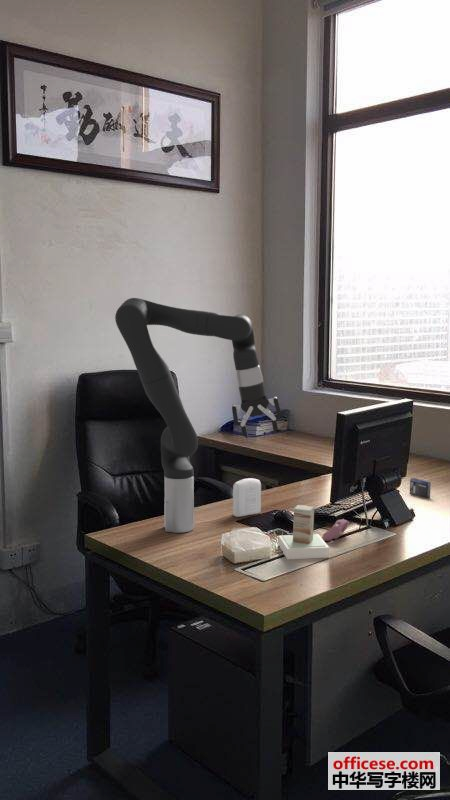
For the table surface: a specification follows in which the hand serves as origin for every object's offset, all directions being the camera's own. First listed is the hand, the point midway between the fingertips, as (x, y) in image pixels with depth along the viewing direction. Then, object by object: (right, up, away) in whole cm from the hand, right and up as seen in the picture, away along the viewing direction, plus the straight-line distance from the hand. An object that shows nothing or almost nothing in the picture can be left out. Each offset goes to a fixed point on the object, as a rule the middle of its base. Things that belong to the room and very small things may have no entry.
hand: (261, 434), depth 216 cm
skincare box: (+12, -31, -7) cm, 33 cm away
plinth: (+12, -33, -6) cm, 36 cm away
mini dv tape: (+62, -26, +55) cm, 87 cm away
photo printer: (-3, -29, +31) cm, 42 cm away
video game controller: (+23, -32, +6) cm, 40 cm away
